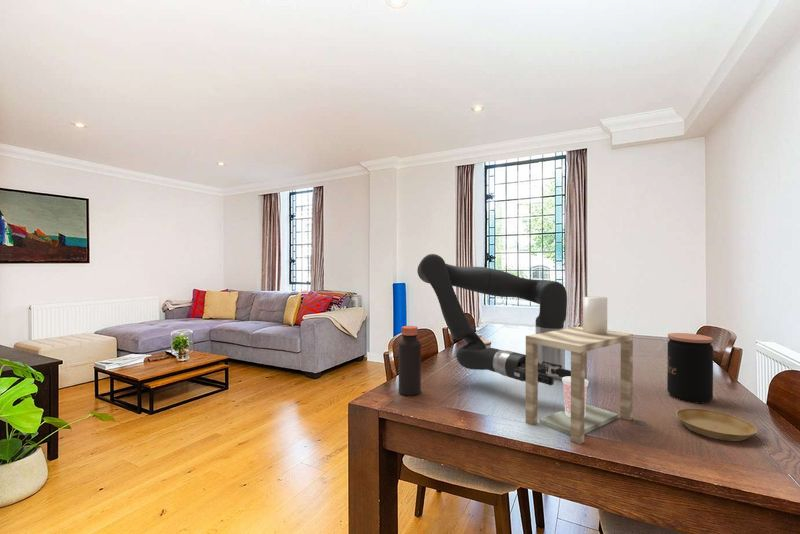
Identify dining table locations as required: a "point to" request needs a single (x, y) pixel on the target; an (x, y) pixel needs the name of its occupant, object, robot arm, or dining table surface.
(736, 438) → the plant saucer
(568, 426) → the stand
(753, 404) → the dining table surface
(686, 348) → the coffee jar
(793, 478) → the dining table surface
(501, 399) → the dining table surface
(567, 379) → the beverage cup
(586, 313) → the candle
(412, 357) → the bottle
